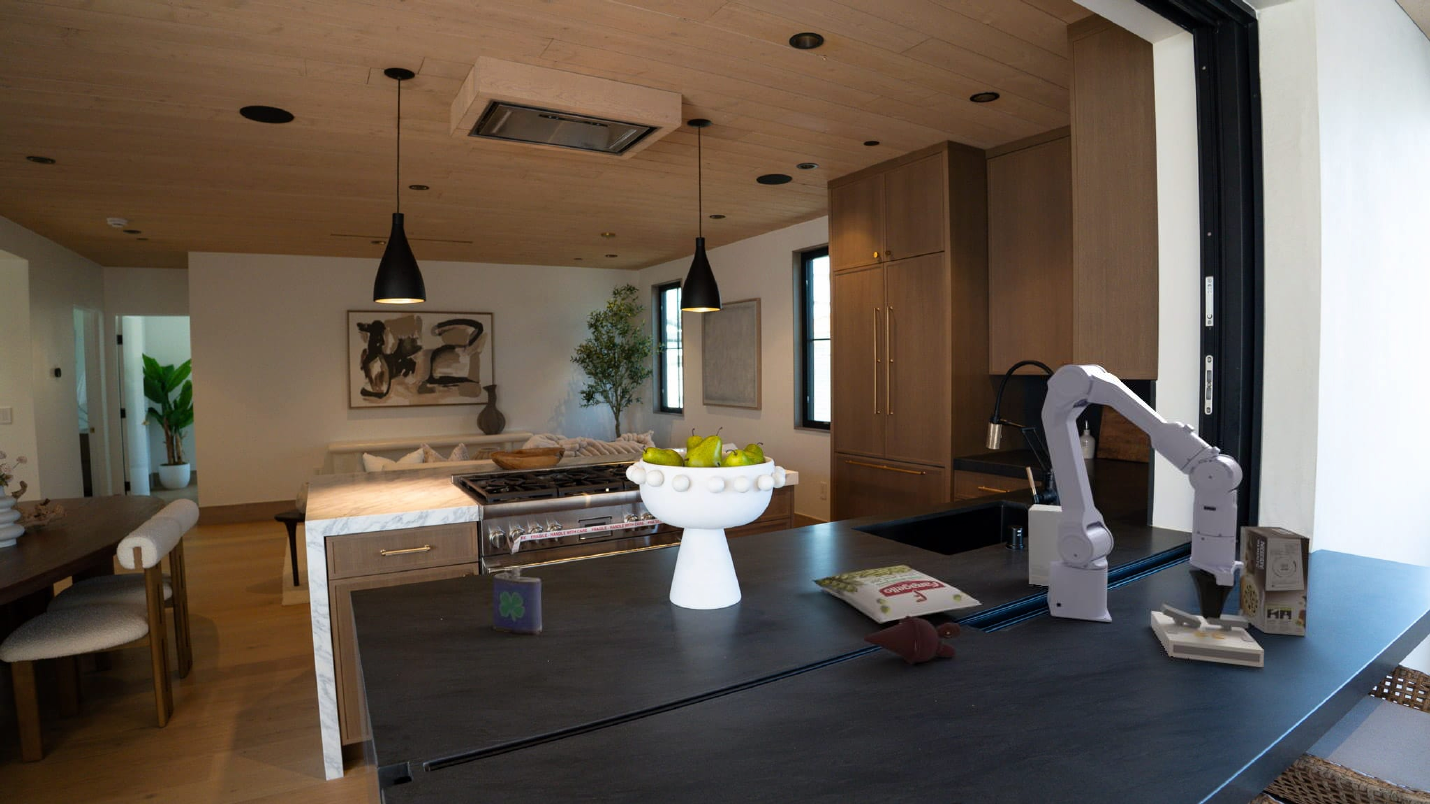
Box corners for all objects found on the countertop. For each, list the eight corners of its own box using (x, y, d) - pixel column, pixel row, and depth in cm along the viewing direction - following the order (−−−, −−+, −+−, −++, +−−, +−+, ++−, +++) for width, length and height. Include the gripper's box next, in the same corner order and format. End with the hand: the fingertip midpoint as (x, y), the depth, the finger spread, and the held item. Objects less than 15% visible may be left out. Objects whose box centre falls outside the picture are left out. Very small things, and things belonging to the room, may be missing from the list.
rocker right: (1208, 628, 118) (1209, 618, 118) (1204, 623, 120) (1204, 612, 120) (1248, 632, 116) (1248, 622, 116) (1242, 626, 118) (1242, 616, 118)
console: (1169, 656, 114) (1169, 639, 114) (1150, 625, 127) (1151, 610, 127) (1263, 667, 110) (1264, 649, 109) (1234, 634, 123) (1235, 618, 123)
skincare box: (1076, 583, 151) (1078, 506, 150) (1072, 592, 146) (1074, 512, 145) (1032, 577, 156) (1033, 502, 155) (1026, 585, 150) (1027, 508, 149)
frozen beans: (902, 552, 153) (985, 587, 129) (902, 580, 153) (985, 620, 130) (810, 565, 146) (880, 604, 122) (811, 595, 146) (881, 639, 123)
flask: (545, 630, 126) (543, 567, 125) (534, 636, 123) (533, 572, 122) (499, 624, 129) (498, 562, 128) (488, 629, 126) (486, 566, 126)
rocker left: (1161, 618, 120) (1166, 608, 120) (1158, 612, 122) (1162, 603, 122) (1197, 632, 118) (1201, 622, 118) (1192, 626, 121) (1197, 617, 121)
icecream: (877, 633, 107) (974, 635, 109) (860, 604, 114) (952, 607, 116) (868, 674, 109) (964, 676, 111) (852, 643, 116) (943, 645, 118)
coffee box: (1307, 636, 122) (1311, 538, 121) (1263, 633, 123) (1266, 536, 122) (1277, 617, 131) (1281, 526, 130) (1236, 615, 132) (1239, 524, 131)
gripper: (1259, 545, 110) (1255, 637, 110) (1230, 525, 123) (1226, 606, 124) (1203, 541, 112) (1199, 631, 113) (1180, 522, 126) (1177, 602, 127)
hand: (1210, 618), depth 119 cm, fingers closed, pressing on rocker right
